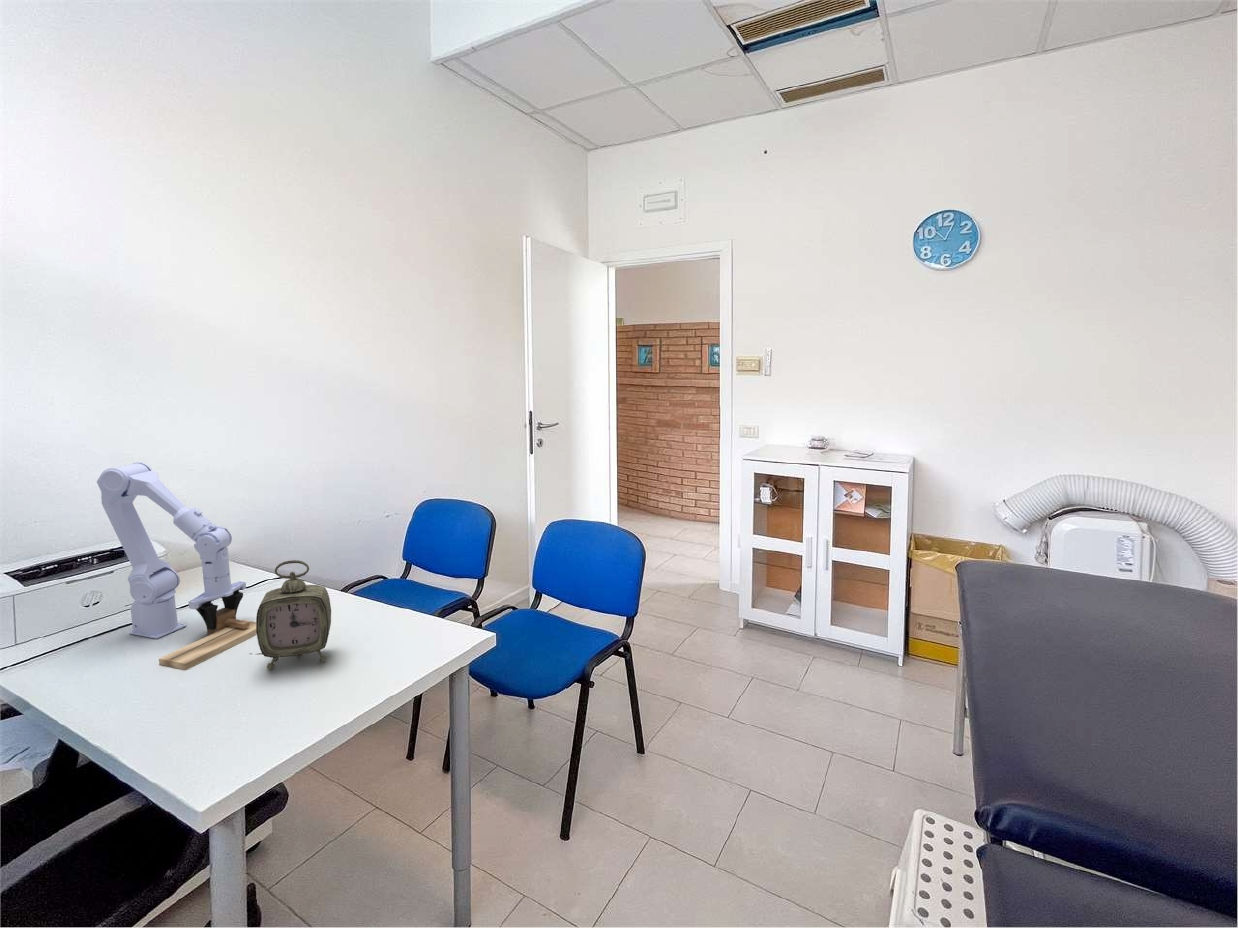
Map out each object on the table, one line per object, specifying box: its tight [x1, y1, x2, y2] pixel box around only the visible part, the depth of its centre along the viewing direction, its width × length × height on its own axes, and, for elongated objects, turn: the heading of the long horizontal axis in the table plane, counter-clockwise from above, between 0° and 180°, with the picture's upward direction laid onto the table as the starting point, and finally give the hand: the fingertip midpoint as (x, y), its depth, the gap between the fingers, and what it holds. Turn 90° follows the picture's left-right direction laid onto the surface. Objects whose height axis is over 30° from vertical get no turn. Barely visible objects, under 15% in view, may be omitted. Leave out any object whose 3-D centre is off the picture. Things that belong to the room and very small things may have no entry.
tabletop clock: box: [255, 559, 332, 671], centre depth 135 cm, size 14×9×25 cm, turn 112°
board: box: [158, 619, 257, 671], centre depth 144 cm, size 8×22×2 cm, turn 165°
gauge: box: [206, 607, 250, 635], centre depth 151 cm, size 10×5×5 cm, turn 74°
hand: (221, 624), depth 152 cm, fingers closed on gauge, 5 cm apart
